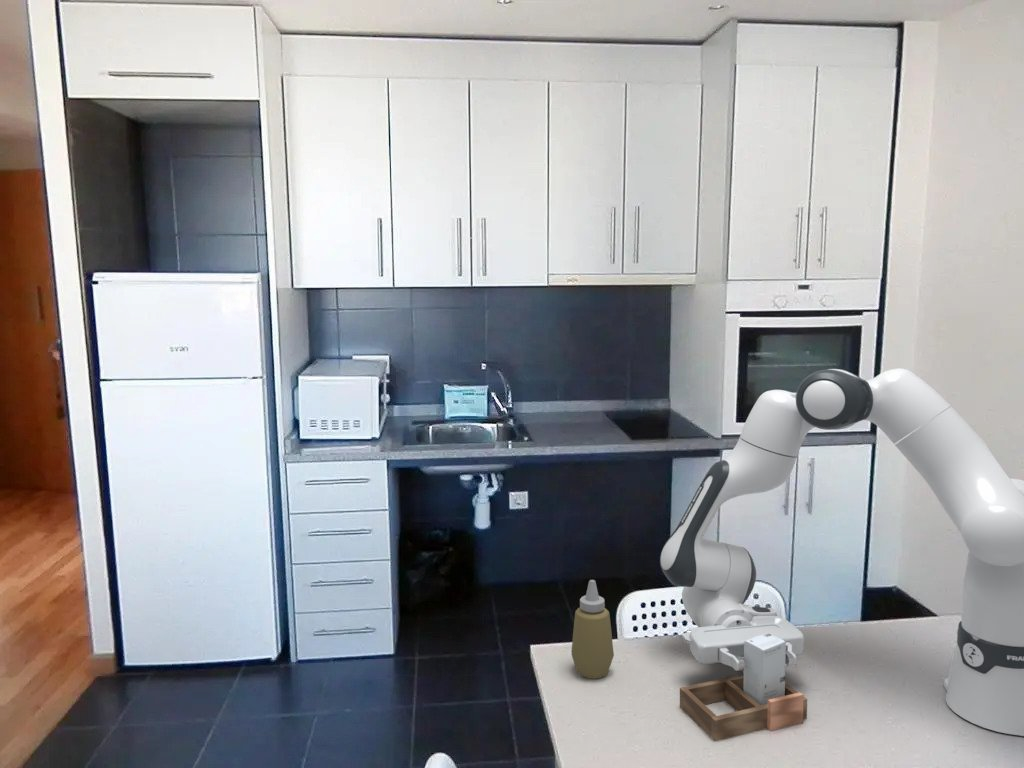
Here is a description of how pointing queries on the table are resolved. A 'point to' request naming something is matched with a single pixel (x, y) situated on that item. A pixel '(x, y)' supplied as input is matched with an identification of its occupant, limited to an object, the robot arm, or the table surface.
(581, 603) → the squeeze bottle
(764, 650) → the skincare box
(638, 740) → the table surface
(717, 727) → the wooden compartment holder
